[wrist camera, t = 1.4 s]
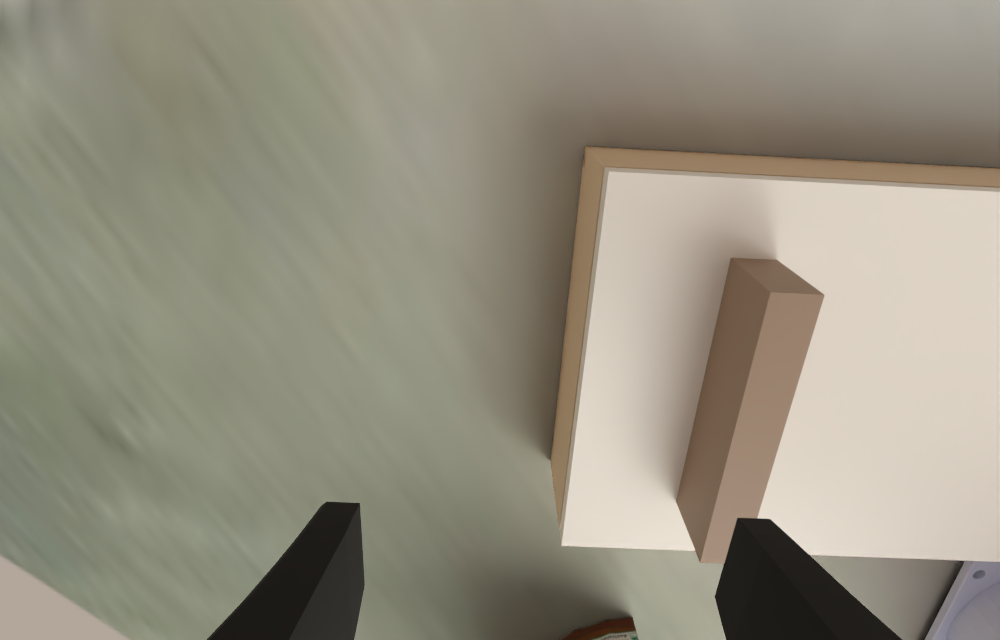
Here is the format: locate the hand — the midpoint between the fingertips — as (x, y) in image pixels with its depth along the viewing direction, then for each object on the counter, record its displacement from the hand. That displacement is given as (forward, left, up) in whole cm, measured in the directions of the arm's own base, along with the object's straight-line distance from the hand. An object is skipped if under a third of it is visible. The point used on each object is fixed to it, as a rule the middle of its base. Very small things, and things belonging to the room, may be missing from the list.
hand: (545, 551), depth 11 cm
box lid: (0, -12, -7) cm, 13 cm away
